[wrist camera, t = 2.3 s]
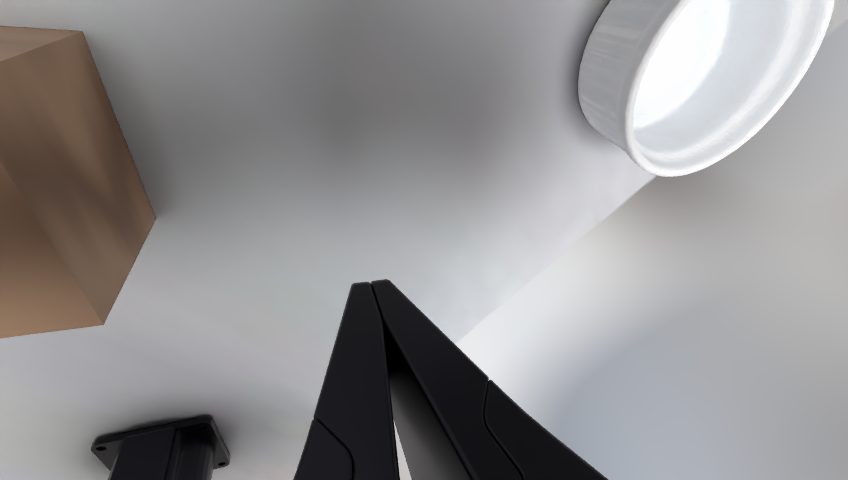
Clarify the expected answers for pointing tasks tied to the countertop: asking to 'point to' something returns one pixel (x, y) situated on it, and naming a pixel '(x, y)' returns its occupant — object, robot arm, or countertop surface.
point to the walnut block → (62, 187)
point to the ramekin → (694, 74)
